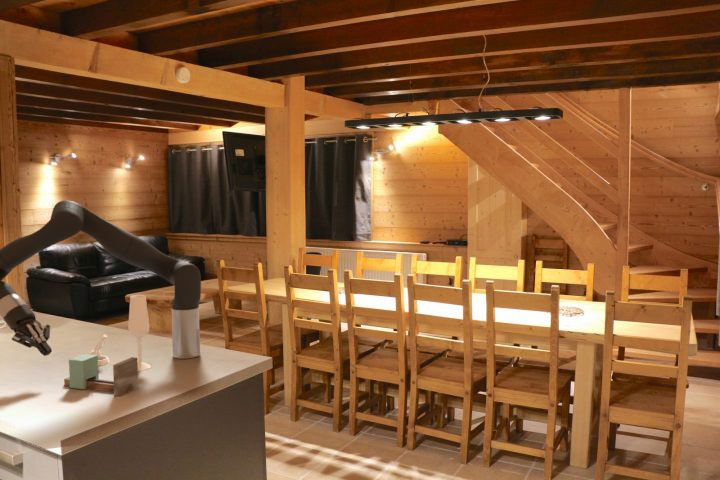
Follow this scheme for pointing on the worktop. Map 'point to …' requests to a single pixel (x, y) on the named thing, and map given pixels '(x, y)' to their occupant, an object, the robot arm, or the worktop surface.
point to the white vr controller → (96, 351)
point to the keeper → (83, 370)
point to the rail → (116, 378)
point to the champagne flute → (139, 324)
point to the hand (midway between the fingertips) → (48, 353)
